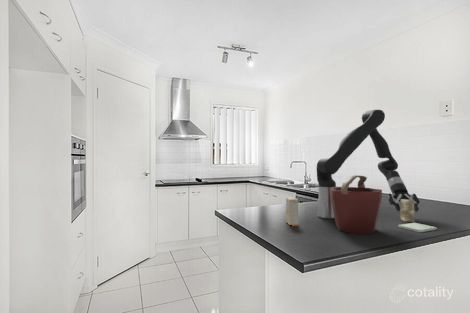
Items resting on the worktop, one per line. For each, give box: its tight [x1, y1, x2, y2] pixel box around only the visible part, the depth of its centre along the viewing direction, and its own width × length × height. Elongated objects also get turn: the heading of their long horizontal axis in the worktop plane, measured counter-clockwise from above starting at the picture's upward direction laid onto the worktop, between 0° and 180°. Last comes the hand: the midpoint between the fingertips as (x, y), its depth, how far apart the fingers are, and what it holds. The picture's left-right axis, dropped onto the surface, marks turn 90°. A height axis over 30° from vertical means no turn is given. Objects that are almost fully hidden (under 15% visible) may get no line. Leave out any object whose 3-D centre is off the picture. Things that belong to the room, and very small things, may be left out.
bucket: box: [330, 175, 383, 235], centre depth 121 cm, size 24×22×25 cm
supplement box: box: [285, 196, 299, 227], centre depth 131 cm, size 8×5×13 cm, turn 179°
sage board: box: [397, 222, 437, 233], centre depth 122 cm, size 12×10×1 cm
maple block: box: [399, 199, 415, 223], centre depth 137 cm, size 4×4×11 cm
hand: (408, 210), depth 136 cm, fingers open, 8 cm apart
